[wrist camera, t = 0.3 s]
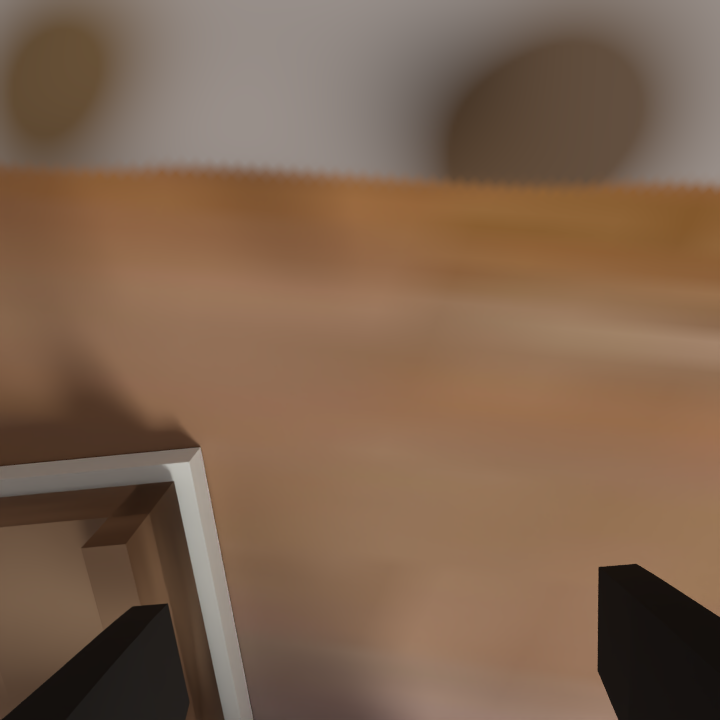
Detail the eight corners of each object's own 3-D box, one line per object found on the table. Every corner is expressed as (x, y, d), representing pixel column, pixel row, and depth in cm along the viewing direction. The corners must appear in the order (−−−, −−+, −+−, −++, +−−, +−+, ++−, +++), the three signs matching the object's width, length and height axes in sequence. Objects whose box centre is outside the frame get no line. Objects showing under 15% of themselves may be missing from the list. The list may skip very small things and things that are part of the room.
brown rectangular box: (241, 801, 20) (217, 917, 17) (20, 817, 20) (-49, 935, 17) (173, 480, 17) (125, 544, 13) (-90, 505, 17) (-204, 573, 14)
